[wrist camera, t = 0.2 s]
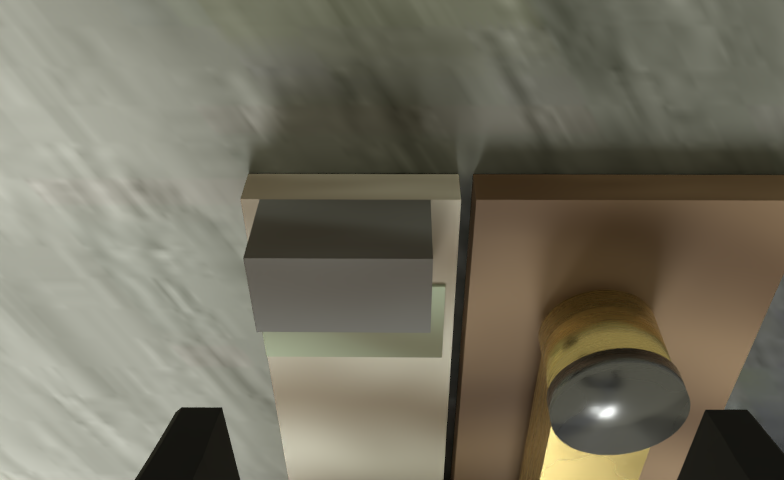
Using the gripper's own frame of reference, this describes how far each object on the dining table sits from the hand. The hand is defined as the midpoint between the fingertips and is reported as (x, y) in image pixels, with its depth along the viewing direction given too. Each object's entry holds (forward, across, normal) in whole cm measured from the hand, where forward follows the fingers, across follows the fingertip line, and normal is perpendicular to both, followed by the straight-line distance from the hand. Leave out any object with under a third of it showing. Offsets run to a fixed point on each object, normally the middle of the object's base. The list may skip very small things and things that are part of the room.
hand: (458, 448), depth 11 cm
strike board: (+10, -2, +11) cm, 15 cm away
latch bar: (+8, -5, +10) cm, 14 cm away
